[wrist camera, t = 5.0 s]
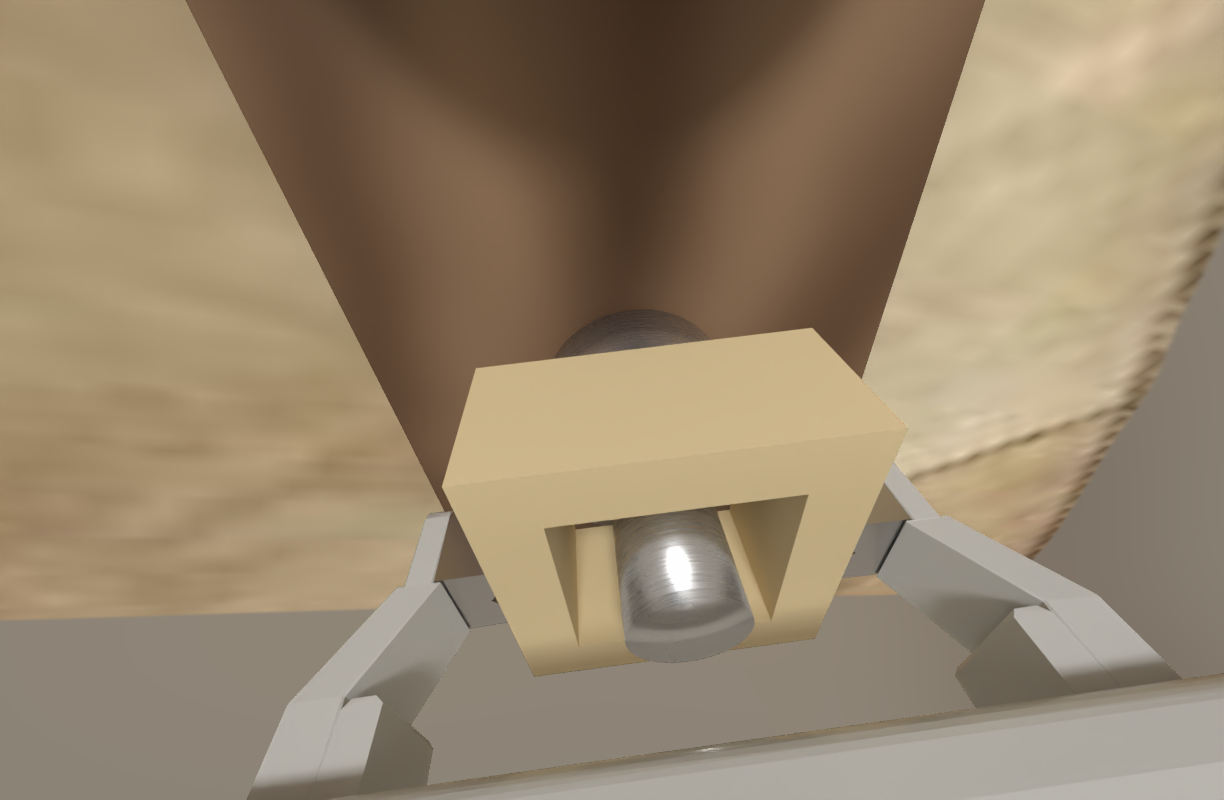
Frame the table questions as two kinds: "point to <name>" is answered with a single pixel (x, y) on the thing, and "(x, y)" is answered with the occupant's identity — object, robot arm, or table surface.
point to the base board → (591, 168)
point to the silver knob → (669, 534)
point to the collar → (667, 480)
